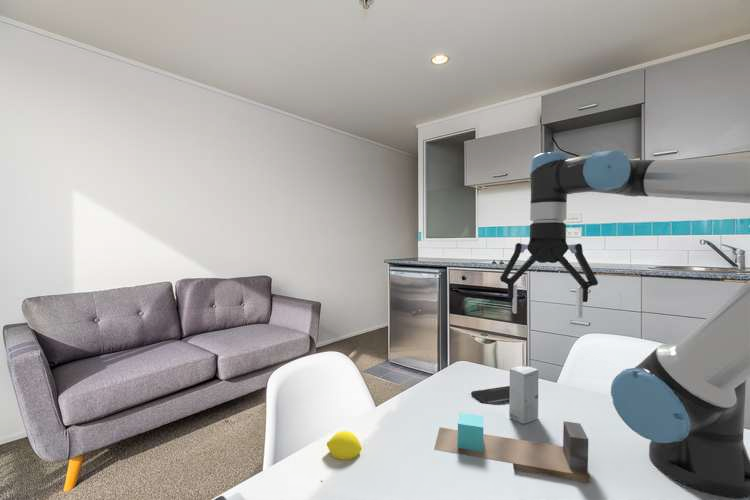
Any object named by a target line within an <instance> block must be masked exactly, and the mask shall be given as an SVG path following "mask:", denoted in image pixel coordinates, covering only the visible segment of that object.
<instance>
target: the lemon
mask: <svg viewBox="0 0 750 500" xmlns="http://www.w3.org/2000/svg"><path fill="white" fill-rule="evenodd" d="M326 446H327V449H328V450H329V452H330V454H331V456H332V457H333V458H335V459H338V460H343V461H345V460H348V461H349V460H350V459H351V460H352V459H355V458H356V457H358V456H359V454H360V453H361V451H362V446H361V442H360V440H359V438H358V436H357V435H355V433H353V432H350V431H346V430H343V431H338V432H336V433H334V435H332V437H331V438H330V439H329V440H328V441H327V442H326Z"/></svg>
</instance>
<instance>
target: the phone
mask: <svg viewBox="0 0 750 500" xmlns="http://www.w3.org/2000/svg"><path fill="white" fill-rule="evenodd" d="M470 395H472V396H471V397H472V398H473V399H475V398H476V401H478V402H479V403H481V404H483V405H491V406H497V405H503V404H509V400H510V385H507V386H498V387H494V388H493V387H492V388H486V389H480V390H472V391H471V393H470Z"/></svg>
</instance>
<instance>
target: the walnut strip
mask: <svg viewBox="0 0 750 500" xmlns="http://www.w3.org/2000/svg"><path fill="white" fill-rule="evenodd" d="M562 429H563V436H562V439H563V440H562V446H561V445H557V444H549V443H548V444H547V443H544V442H543V443H542V442H536V441H530V440H525V439H523V440H522V439H517V438H510V437H504V436H498V435H491V434H485V433H483V452H480V451H474V450H468V449H462V448H458V429H453V428H446V427H439V428H438V433H437V437H436V440H435V444H434V450H435V451H440V452H447V453H451V454H458V455H464V456H470V457H474V458H481V459H487V460H490V461H491V460H493V461H496V462H497V461H498V462H502V463H503V462H504V463H509V464H512V466H513V470H516V471H521V472H527V473H532V474H538V475H542V476H548V477H554V478H559V479H560V478H561V479H566V480H571V481H578V482H583V483H589V484H590V482H591V476H590V473H589V468H588V467H589V438H588V436H587V434H586V432H585V429H584V428H583V426H582V424H581V423H579V422H578V423H577V422H572V421H563V428H562Z"/></svg>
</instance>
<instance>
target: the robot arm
mask: <svg viewBox="0 0 750 500" xmlns="http://www.w3.org/2000/svg"><path fill="white" fill-rule="evenodd" d="M530 167H531V168H530V173H529V177H530V207H529V208H530V214H529V215H530V217H529V220H530V221H531V222H532V223H530V224H529V242H528V244H526V243H525V244H524V243H520V242H516V243H515V245H514V252H513V254H512V255H511V257H510V259H509V261H508V263H507V264H506V267H504V270H503V271H502V273H501V275H500V278H499V279H500V282H502V283H503V284H504V283H505V284H506V285H507V296H508V297H507V298H508V299H512V308H511V311H512V313H513V314H517V313H518V312H517V311H518V309H517V308H518V285H517V284H516V282H517V281H518V280H519V279H520V278H521V277H522V276H523V274H524V273H525V272H527V271H528V270H529V268H530V267H531V266H533V264H535V263H536V262H538V263H540V264H543V263H544V264H545V263H550V264H555V263H558V262H559V264H561V266H562V267H563V268H564V269H565V270H566V271H567V272H568V274H569V275H570V276H571V277H572V278H573V279H574V280H575V281H576V282H577V283H578V285H579V286H576V289H575V316H576V317H578V318H583V309H584V307H583V303H587V302H588V301H589V288H591V287H593V286H594V287H595V286H597V285H599V281H598V279H597V277H596V275H595V274H594V272H593V270H592V268H591V266H590V264H589V262H588V260H587V258H586V257H585V255H584V253H583V246H582V243H574V244H567V224H566V222H564V221H566V220H567V209H568V208H567V201H568V199H567V198H568V195H572V194H579V193H580V194H581V193H599V194H600V193H601V194H611V195H621V196H625V197H653V198H666V199H667V198H668V199H679V200H680V199H683V200H693V201H694V200H697V201H712V202H724V203H725V202H727V203H737V204H738V203H741V204H750V158H707V159H706V158H705V159H704V158H703V159H702V158H701V159H699V158H697V159H695V158H694V159H690V158H689V159H655V160H653V159H629V158H628V156H627V155H625V153H624V151H622V150H620V149H612V150H611V149H610V150H599V151H596V152H594V153H590V154H585V155H581V156H577V157H571V158H569V157H568V154H567V153H565V152H562V151H550V152H542V153H539V154H536V155H535V156H533V157H532V159H531V166H530ZM525 250H527V251H528V252H529V253H530V256H529V257H528V258H527V260H526V261H525V262H524V263H523V264H521V266H520V267H519V268H518V269H517V270H516V272H514V273H513V274H512V276H510V278H509V275H510V273H511V271H512V270H513V268H514V266H515V264H516V262H517V261H518V260H519V257H520V255H521V253H524V252H525ZM568 250H569V251H570V253H572V254H574V257H575V258H576V260H577V263H578V264H579V266H580V268H581V270H582V272H583V273H584V275H585V277H586V280H585V278H584V277H583V276H581V274H580V273H579V272H578V271H577V270H576V269H575V267H573V265H572V264H571V263H570V262H569V260H568V259H567V258H566V257H565V256H564V255H565V254H566V253H567V252H568ZM749 379H750V279H749V280H748V281H746V283H744V284H743V285H742V286H741V287H740V288H738V290H737V291H735V292H734V293H733V294H732V295H731V296H730V297H728V298H727V299H726V300H725V301H724V302H723V303H722V304H721V305H720V306H719V307H718V308H716V309H715V310H714V311H713V312H712V313H710V315H708V317H707V318H705V319H704V320H703V321H702V322H701V323H700V324H699V325H698V326H696V328H694V329H693V330H692V331H691V332H689V333H688V335H686V336H685V337H684V338H683V339H682V340H681V341H680V342H678V344H669V343H665V344H663V343H662V344H660V345H659V346H657V347H656V348H655V349H654V350H653V351H652V352H651V353H650V354H649V355H647V357H645V358H644V359H643V360H642V361H641V362H640V363H639V364H638V365H636V366H634V367H632V368H625V369H623V370H621V372H619V373H618V374H617V375H616V376H615V377H614V379H613V380H612V382H611V385H610V396H611V398H612V404H613V407H614V408H615V410H616V411H615V412H616V413H617V414H618V416H619V418H620V419H621V420H622V421H623V422H624V424H625V425H626V426H627V427H628V428H630V430H631V431H633V432H635V433H636V434H638V435H639V436H641V437H642V438H645V439H646V440H649V447H648V448H649V449H648V456H649V460H650V461H651V463H652V464H653V465H654V466H655V467H656V468H657V469H658V470H659V471H660V472H662V473H663V474H665V475H667V476H668V477H669V478H672V479H674V480H675V481H677V482H679V483H682V484H684V485H686V486H688V487H689V488H693V489H696V490H698V491H701V492H704V493H709V494H712V495H715V496H721V497H725V498H726V497H727V498H737V499H738V498H747V497H750V457H749V455H748V452H747V448H746V446H745V444H744V443H745V442H744V432H745V431H744V430H745V429H744V428H745V427H744V425H745V406H746V382H748V380H749Z"/></svg>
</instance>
